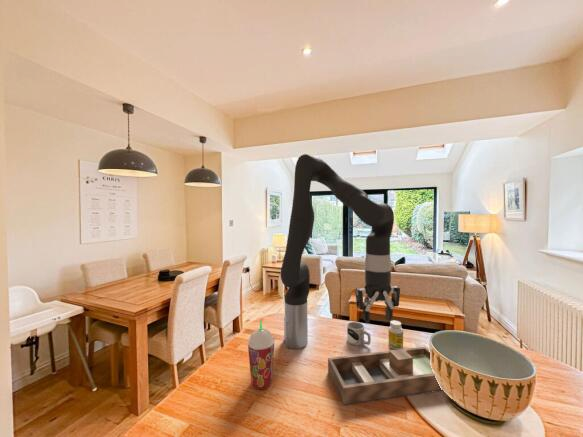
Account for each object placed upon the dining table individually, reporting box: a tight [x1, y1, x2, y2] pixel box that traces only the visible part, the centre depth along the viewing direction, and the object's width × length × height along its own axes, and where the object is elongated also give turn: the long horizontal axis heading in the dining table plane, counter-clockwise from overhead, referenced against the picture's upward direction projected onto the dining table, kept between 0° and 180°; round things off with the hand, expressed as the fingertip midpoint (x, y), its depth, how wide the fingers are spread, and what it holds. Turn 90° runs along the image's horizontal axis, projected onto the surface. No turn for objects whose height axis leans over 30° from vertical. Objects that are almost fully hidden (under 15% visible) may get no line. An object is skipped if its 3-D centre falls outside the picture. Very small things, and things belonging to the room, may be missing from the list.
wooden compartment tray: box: [327, 346, 442, 406], centre depth 78 cm, size 36×14×5 cm, turn 99°
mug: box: [346, 321, 372, 347], centre depth 100 cm, size 10×7×7 cm, turn 42°
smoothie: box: [247, 320, 276, 390], centre depth 78 cm, size 8×8×20 cm
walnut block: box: [388, 348, 413, 376], centre depth 79 cm, size 5×5×5 cm
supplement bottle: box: [388, 319, 404, 350], centre depth 97 cm, size 5×5×10 cm
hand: (377, 320), depth 77 cm, fingers open, 6 cm apart
